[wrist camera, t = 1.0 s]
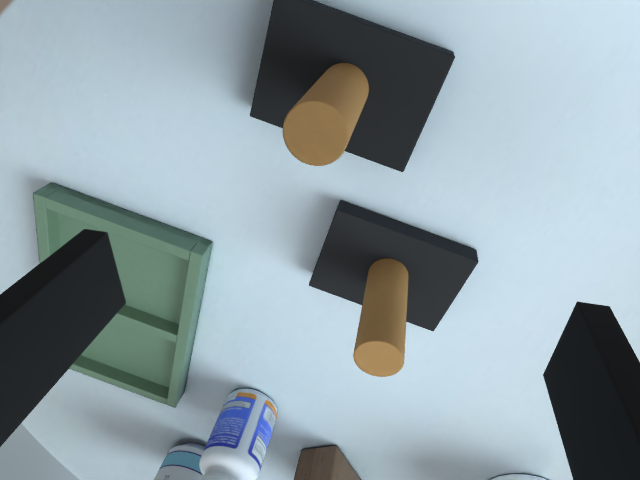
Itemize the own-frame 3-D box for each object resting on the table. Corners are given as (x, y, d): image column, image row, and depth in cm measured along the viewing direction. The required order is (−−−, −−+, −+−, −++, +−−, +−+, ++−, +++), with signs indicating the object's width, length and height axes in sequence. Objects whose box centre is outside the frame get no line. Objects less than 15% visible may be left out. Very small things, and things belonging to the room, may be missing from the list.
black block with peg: (340, 199, 30) (310, 282, 22) (476, 249, 30) (495, 350, 22) (312, 274, 34) (279, 367, 26) (433, 318, 34) (436, 425, 26)
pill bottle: (220, 405, 46) (176, 500, 38) (238, 378, 43) (195, 475, 35) (266, 429, 46) (233, 527, 38) (287, 403, 43) (256, 504, 35)
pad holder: (51, 181, 34) (32, 192, 33) (213, 241, 34) (202, 255, 33) (62, 346, 46) (48, 361, 44) (184, 392, 46) (175, 408, 44)
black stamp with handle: (283, -11, 24) (214, 2, 16) (453, 51, 24) (468, 95, 16) (257, 109, 28) (191, 166, 20) (403, 163, 28) (396, 241, 20)
